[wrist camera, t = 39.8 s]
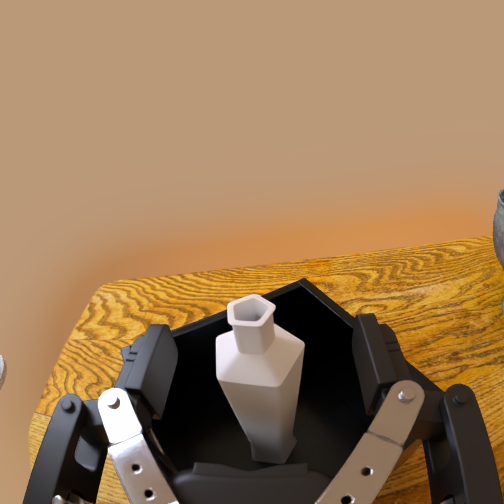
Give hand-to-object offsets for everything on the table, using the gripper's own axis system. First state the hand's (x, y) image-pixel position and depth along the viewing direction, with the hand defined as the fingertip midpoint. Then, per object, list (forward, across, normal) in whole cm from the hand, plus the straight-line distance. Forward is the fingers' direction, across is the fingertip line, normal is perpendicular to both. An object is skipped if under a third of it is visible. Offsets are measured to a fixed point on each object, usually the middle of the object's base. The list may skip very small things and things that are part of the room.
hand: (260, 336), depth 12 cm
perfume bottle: (+1, 0, +14) cm, 15 cm away
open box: (+1, 0, +15) cm, 15 cm away
